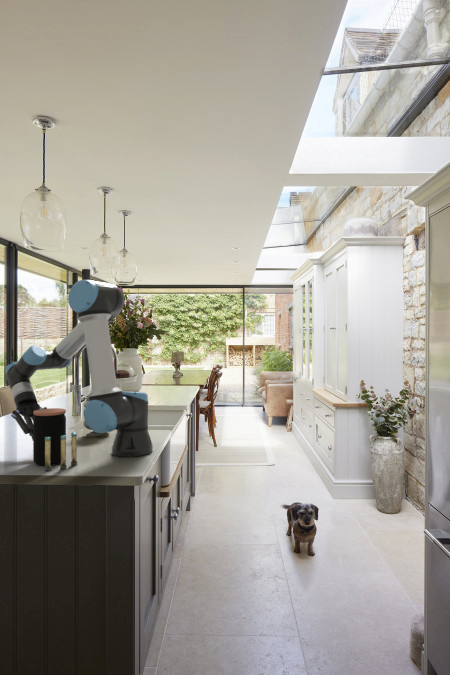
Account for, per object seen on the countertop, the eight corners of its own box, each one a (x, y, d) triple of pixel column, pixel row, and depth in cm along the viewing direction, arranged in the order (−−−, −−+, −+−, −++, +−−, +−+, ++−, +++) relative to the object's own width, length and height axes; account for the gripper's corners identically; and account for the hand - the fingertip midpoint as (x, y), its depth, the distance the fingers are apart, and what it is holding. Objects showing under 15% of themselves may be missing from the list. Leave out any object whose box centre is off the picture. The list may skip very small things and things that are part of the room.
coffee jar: (48, 456, 159) (48, 407, 159) (72, 459, 155) (72, 409, 155) (26, 464, 149) (26, 412, 149) (51, 467, 145) (51, 413, 145)
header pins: (43, 470, 142) (43, 436, 142) (75, 463, 150) (75, 431, 150) (48, 473, 140) (48, 438, 140) (80, 466, 147) (80, 433, 147)
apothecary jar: (105, 431, 203) (105, 392, 203) (115, 435, 193) (115, 395, 193) (79, 434, 196) (79, 394, 196) (89, 439, 186) (89, 397, 186)
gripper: (38, 400, 175) (56, 450, 163) (3, 404, 166) (19, 456, 154) (44, 388, 171) (62, 438, 159) (8, 391, 162) (25, 444, 150)
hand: (41, 447), depth 157 cm, fingers closed
